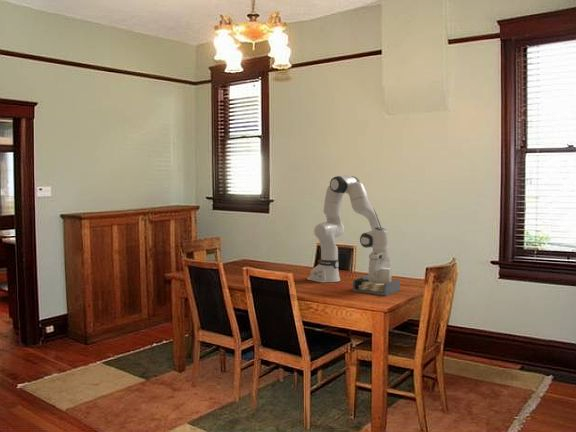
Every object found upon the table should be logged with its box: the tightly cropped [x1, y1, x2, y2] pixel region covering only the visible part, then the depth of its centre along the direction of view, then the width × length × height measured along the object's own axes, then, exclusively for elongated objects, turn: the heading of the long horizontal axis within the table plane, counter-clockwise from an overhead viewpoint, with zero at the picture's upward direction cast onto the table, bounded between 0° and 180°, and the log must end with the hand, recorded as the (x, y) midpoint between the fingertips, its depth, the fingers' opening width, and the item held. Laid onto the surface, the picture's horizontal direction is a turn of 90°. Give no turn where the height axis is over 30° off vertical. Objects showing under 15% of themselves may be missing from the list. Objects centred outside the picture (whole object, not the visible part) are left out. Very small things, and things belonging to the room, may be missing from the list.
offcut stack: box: [359, 281, 384, 292], centre depth 321 cm, size 16×6×4 cm, turn 52°
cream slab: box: [367, 267, 392, 284], centre depth 327 cm, size 14×3×12 cm, turn 52°
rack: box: [352, 274, 401, 297], centre depth 324 cm, size 22×18×7 cm
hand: (379, 277), depth 327 cm, fingers open, 7 cm apart
